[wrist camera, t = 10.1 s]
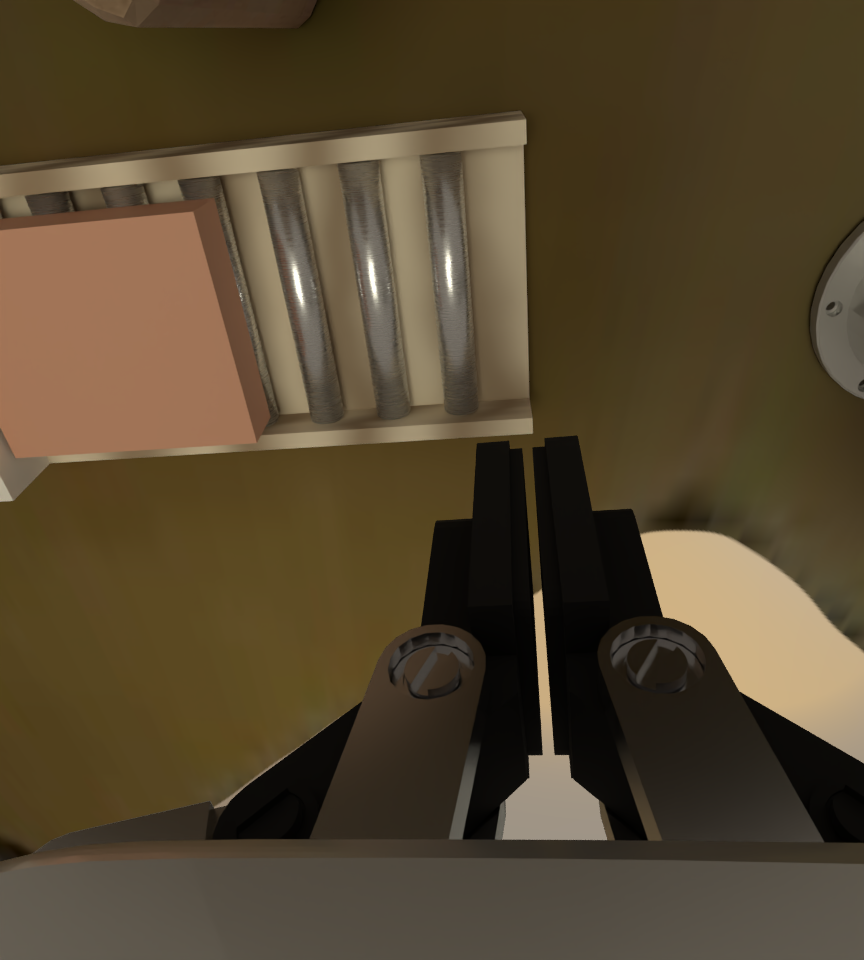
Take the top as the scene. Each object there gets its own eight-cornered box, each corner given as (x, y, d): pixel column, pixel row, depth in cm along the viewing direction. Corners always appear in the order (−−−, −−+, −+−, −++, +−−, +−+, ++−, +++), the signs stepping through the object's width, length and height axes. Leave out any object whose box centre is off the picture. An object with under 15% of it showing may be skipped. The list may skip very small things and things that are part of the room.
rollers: (461, 147, 33) (460, 154, 32) (478, 398, 41) (478, 414, 39) (-34, 198, 36) (-59, 206, 34) (67, 425, 43) (50, 441, 42)
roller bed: (520, 110, 34) (526, 119, 30) (528, 401, 42) (532, 433, 39) (-79, 174, 37) (-134, 188, 33) (42, 433, 45) (8, 465, 42)
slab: (214, 197, 33) (193, 211, 31) (270, 417, 40) (257, 443, 37) (-54, 224, 34) (-95, 239, 32) (43, 431, 41) (15, 458, 38)
